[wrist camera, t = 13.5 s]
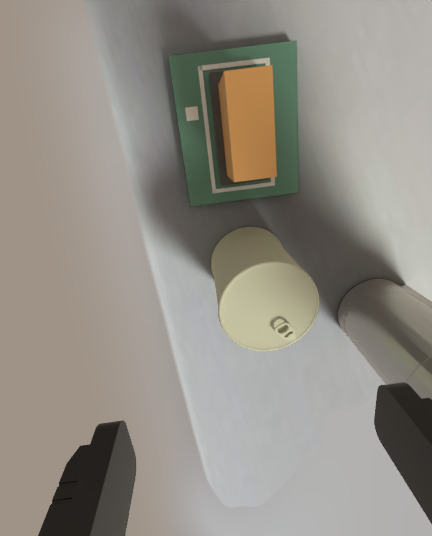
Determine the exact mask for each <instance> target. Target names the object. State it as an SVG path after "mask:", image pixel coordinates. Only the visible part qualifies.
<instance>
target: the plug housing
mask: <svg viewBox="0 0 432 536" xmlns="http://www.w3.org/2000/svg"><path fill="white" fill-rule="evenodd" d="M218 88H219V98H220V108H221V119H222V129H223V139H224V149H225V159H226V169H227V176H228V177H229V178H230V179H231V180H232V181H233V182H240V181H248V180H256V179H264V178H271V177H277V168H276V142H275V117H274V92H273V66H272V65H270V66H261V67H253V68H245V69H237V70H228V71H224V72H223V75H222V77H221V80H220V82H219V84H218Z"/></svg>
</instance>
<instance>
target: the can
mask: <svg viewBox="0 0 432 536" xmlns="http://www.w3.org/2000/svg"><path fill="white" fill-rule="evenodd" d="M211 270H212V274H213V277H214V280H215V286H216V293H217V301H218V316H219V321H220V324H221V326H222V328H223V330H224V331H225V333H226V334H227V335H228V337H229V338H230V339H231V340H233V341H234V342H235V343H237V344H238V345H240V346H242V347H245V348H247V349H251V350H256V351H272V350H277V349H281V348H284V347H286V346H288V345H291V344H293V343H294V342H296V341H297V340H299V339H300V338H301V337H302V336H303V335H304V334H305V333H307V331H308V330H309V329H310V328H311V326H312V325H313V323H314V321H315V319H316V316H317V313H318V309H319V294H318V290H317V287H316V285H315V283H314V281H313V280H312V278H311V277H310V276H309V275H308V274H307V273H306V272H305V271H304V270H303V269H302V268H301V267H300V266H299V265H298V264H297V263H296V262H295V260H294V259H293V258H292V257H291V256H290V255H289V254H288V252H287V251H286V250H285V249H284V248H283V246H282V244H281V242H280V241H279V239H278V238H277V237H276V236H275V235H274V234H272V233H271V232H269V231H267V230H265V229H262V228H259V227H243V228H239V229H236V230H234V231H232V232H230V233H228V234H227V235H225V236H224V237H223V238H222V239H221V240H220V241H219V243H218V244H217V245H216V247H215V249H214V251H213V254H212V258H211Z"/></svg>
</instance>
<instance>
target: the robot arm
mask: <svg viewBox="0 0 432 536" xmlns="http://www.w3.org/2000/svg"><path fill="white" fill-rule="evenodd" d="M338 321H339V324H340V327H341V328H342V329H343V331H344V332H345V333H346V335H347V336H348V337H349V338H350V340H351V341H352V342H353V343H354V345H355V346H356V347H357V349H358V350H359V351H360V352H361V354H362V355H363V356H364V357H365V359H366V360H367V361H368V362H369V364H370V365H371V366H372V367H373V369H374V370H375V371H376V372H377V374H378V375H379V376H380V377H381V379H382V380H383V381H384V382H385V384H386V385H380V386H379V387H378V391H377V401H376V409H375V419H374V423H375V429H376V432H377V435H378V437H379V440H380V442H381V443H382V445H383V447H384V448H385V450H386V451H387V453H388V455H389V456H390V458H391V459H392V461H393V462H394V464H395V466H396V467H397V469H398V471H399V472H400V474H401V475H402V477H403V478H404V480H405V482H406V483H407V485H408V487H409V488H410V490H411V491H412V493H413V495H414V496H415V498H416V499H417V501H418V503H419V504H420V506H421V507H422V509H423V511H424V512H425V514H426V515H427V517H428V519H429V520H430V522H431V523H432V302H431V301H430V300H428V299H427V298H425V297H424V296H422V295H421V294H419V293H418V292H416V291H415V290H413V289H412V288H410V287H409V286H407V285H397V284H396V283H394V282H392V281H390V280H386V279H371V280H368V281H364V282H362V283H360V284H358V285H356V286H355V287H354V288H352V289H351V290H350V291H349V292H348V293H347V294H346V295H345V297H344V298H343V300H342V301H341V304H340V306H339V309H338ZM135 476H136V457H135V452H134V449H133V445H132V442H131V439H130V436H129V433H128V429H127V426H126V423H125V422H124V421H117V422H110V423H102V424H99V425H98V426H97V427H96V430H95V432H94V435H93V438H92V441H91V444H90V445H83V446H80V447H79V448H78V450H77V451H76V452H75V454H74V455H73V456H72V457H71V459H70V460H69V462H68V463H67V465H66V467H65V470H64V472H63V475H62V477H61V479H60V482H59V487H57V490H56V492H55V495H54V497H53V500H52V504H51V505H50V507H49V510H48V512H47V515H46V517H45V520H44V522H43V525H42V528H41V530H40V532H39V535H38V536H125V532H126V527H127V522H128V516H129V510H130V505H131V499H132V493H133V487H134V482H135Z"/></svg>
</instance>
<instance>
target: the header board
mask: <svg viewBox="0 0 432 536" xmlns="http://www.w3.org/2000/svg"><path fill="white" fill-rule="evenodd" d="M168 58H169V65H170V72H171V79H172V85H173V92H174V99H175V106H176V113H177V119H178V126H179V133H180V140H181V147H182V153H183V160H184V167H185V174H186V181H187V187H188V194H189V201H190V206H198V205H206V204H214V203H221V202H229V201H237V200H245V199H253V198H260V197H268V196H276V195H284V194H292V193H299V190H298V118H297V46H296V41H288V42H279V43H271V44H263V45H254V46H246V47H238V48H229V49H221V50H212V51H204V52H196V53H187V54H179V55H171V56H168ZM270 65H272V66H273V92H274V117H275V142H276V168H277V177H271V178H264V179H256V180H248V181H240V182H233V181H232V180H231V179H230V178H229V177H228V176H227V169H226V159H225V149H224V139H223V129H222V119H221V108H220V98H219V88H218V84H219V82H220V80H221V77H222V75H223V72H224V71H228V70H237V69H245V68H253V67H261V66H270Z"/></svg>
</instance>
